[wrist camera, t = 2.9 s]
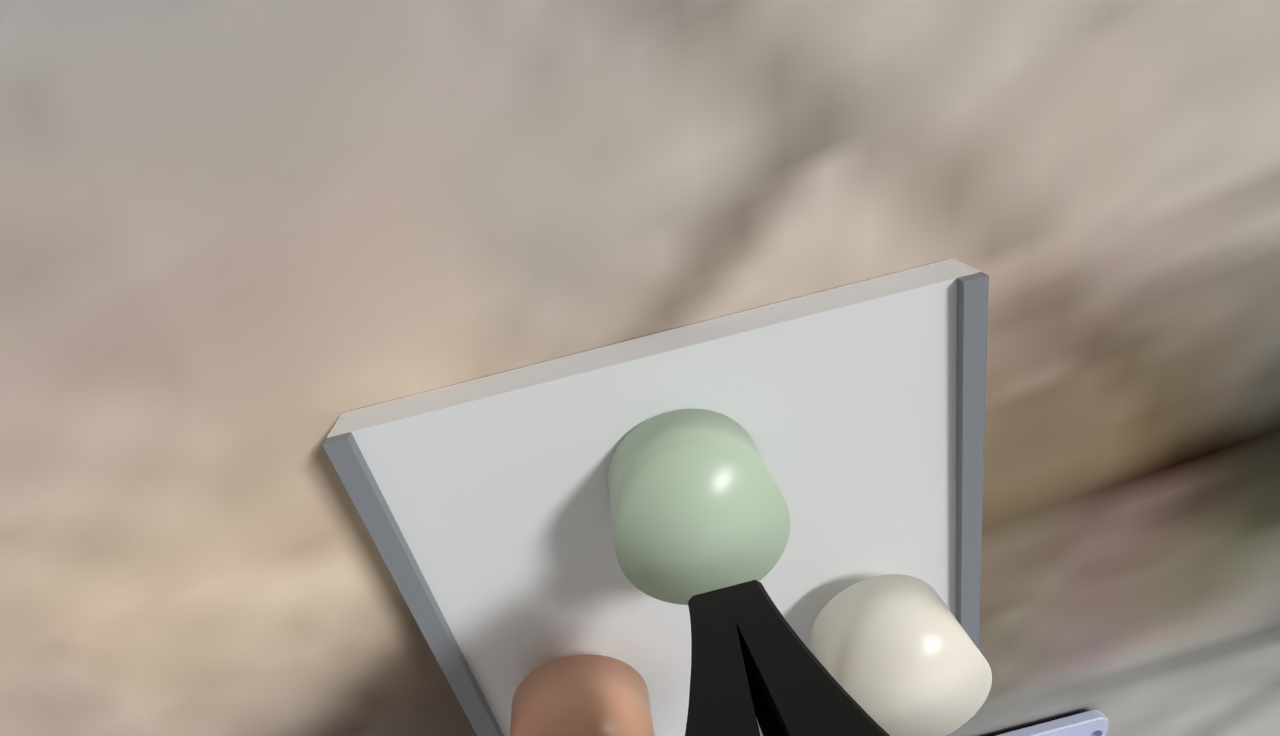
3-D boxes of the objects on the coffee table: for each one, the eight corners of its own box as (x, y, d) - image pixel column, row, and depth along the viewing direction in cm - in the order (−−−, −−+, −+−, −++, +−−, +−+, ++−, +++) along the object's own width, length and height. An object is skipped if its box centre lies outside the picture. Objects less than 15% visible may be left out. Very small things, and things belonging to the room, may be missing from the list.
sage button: (769, 516, 17) (799, 580, 15) (627, 553, 17) (637, 622, 15) (748, 391, 16) (779, 442, 13) (589, 431, 15) (595, 490, 13)
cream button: (942, 655, 20) (989, 727, 17) (817, 687, 20) (849, 763, 17) (941, 559, 18) (994, 626, 16) (804, 594, 18) (838, 667, 16)
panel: (952, 635, 22) (978, 671, 21) (511, 750, 22) (508, 794, 21) (952, 258, 16) (988, 275, 15) (341, 413, 16) (321, 445, 15)
